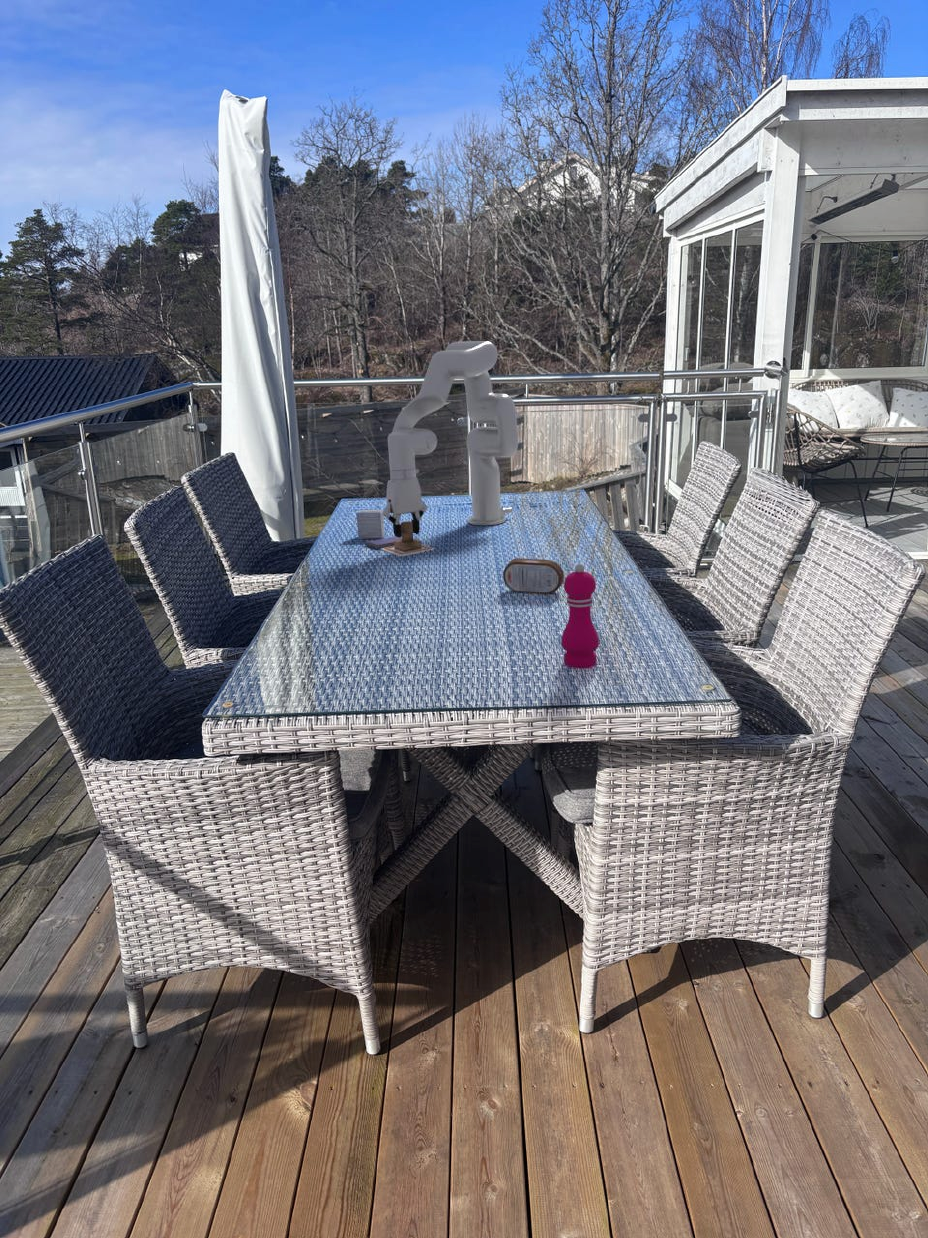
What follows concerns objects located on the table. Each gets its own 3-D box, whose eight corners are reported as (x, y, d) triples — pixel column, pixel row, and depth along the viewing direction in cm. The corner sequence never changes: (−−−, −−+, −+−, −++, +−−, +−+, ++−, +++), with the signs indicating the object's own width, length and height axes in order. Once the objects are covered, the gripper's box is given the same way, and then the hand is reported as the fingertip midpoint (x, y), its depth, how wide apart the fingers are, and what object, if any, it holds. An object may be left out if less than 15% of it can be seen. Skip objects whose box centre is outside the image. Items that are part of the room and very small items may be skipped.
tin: (564, 592, 220) (564, 559, 217) (561, 596, 217) (561, 562, 214) (505, 589, 225) (504, 556, 222) (502, 592, 222) (501, 560, 219)
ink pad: (398, 539, 283) (398, 535, 283) (411, 543, 277) (410, 539, 277) (364, 545, 277) (364, 541, 277) (377, 549, 271) (376, 545, 270)
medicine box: (385, 535, 289) (383, 509, 286) (382, 538, 285) (380, 512, 282) (361, 536, 290) (358, 509, 287) (358, 539, 286) (356, 512, 283)
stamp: (411, 545, 273) (409, 519, 271) (421, 548, 268) (420, 522, 266) (394, 548, 270) (392, 522, 267) (404, 551, 265) (402, 525, 263)
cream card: (414, 542, 277) (414, 541, 277) (435, 549, 268) (435, 547, 267) (380, 549, 271) (380, 547, 271) (400, 556, 261) (400, 554, 261)
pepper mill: (558, 657, 177) (557, 560, 171) (594, 655, 177) (594, 557, 171) (565, 671, 170) (564, 569, 164) (602, 668, 171) (603, 567, 164)
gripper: (421, 469, 270) (424, 528, 275) (371, 477, 261) (375, 537, 266) (434, 472, 264) (437, 532, 269) (383, 479, 255) (388, 541, 260)
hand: (406, 534), depth 268 cm, fingers open, 5 cm apart
